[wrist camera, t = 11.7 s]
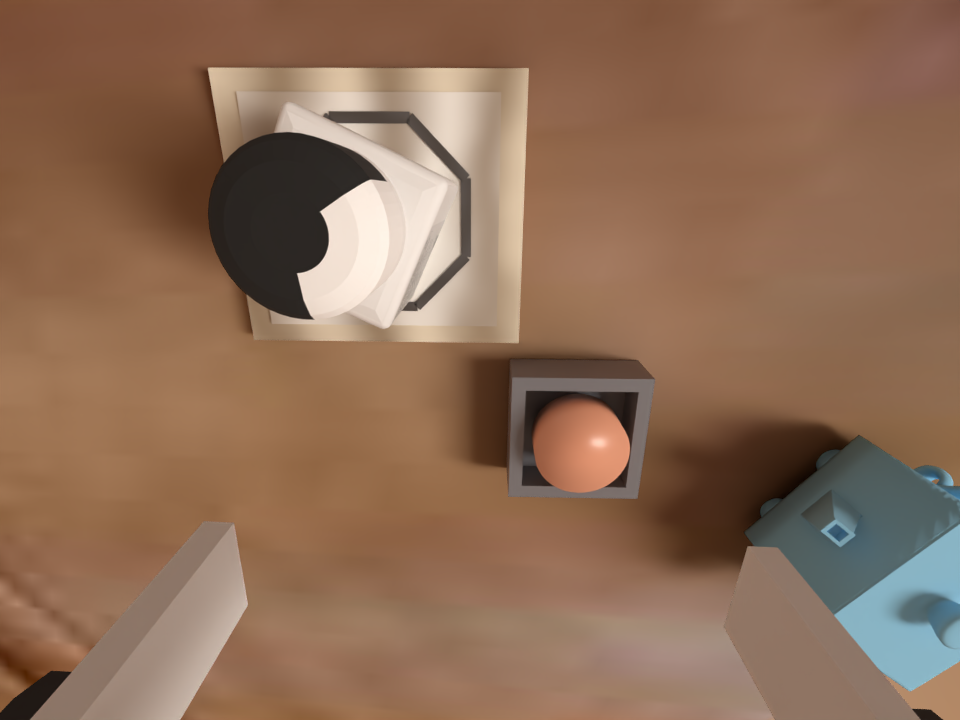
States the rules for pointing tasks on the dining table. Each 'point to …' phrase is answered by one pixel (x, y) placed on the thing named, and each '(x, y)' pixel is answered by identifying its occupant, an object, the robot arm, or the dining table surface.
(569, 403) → the button
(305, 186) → the container
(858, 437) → the teapot
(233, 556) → the robot arm
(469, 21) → the dining table surface
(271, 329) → the drawing board
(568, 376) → the button box
